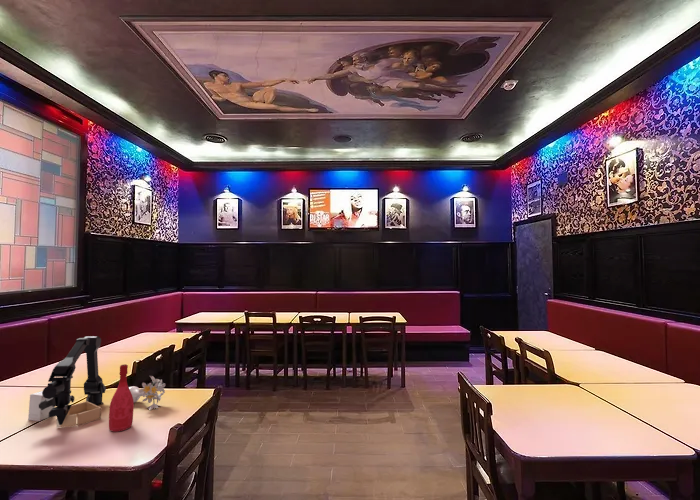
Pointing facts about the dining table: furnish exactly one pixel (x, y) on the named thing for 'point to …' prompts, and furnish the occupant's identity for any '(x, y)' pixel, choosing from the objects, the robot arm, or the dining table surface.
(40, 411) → the supplement box
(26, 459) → the dining table surface
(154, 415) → the dining table surface
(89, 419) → the carton
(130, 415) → the wine bottle
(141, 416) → the dining table surface
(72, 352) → the robot arm
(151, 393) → the flower vase
